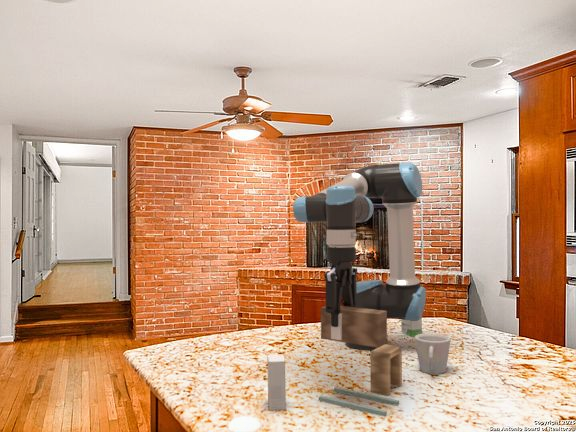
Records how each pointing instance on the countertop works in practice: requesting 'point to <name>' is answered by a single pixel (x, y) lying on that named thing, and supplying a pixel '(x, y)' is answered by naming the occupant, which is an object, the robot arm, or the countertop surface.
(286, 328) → the countertop surface
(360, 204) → the robot arm
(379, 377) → the wooden arch block
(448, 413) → the countertop surface
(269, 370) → the skincare box
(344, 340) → the brown wooden block
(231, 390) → the countertop surface
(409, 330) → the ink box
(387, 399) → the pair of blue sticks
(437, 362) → the mug
